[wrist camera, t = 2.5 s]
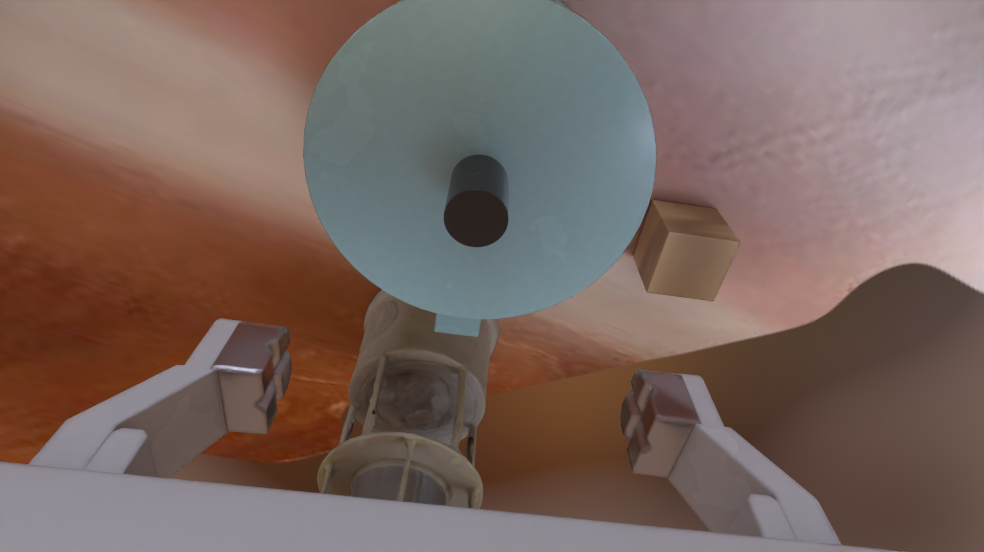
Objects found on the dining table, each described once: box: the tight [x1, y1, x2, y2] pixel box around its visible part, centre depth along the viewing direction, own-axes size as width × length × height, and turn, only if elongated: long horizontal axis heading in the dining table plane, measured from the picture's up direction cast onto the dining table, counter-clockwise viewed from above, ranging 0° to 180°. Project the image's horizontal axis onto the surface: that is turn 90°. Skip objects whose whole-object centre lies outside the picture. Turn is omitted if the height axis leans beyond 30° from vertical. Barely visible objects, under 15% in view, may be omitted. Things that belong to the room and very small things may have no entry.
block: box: [633, 200, 740, 301], centre depth 36 cm, size 4×4×4 cm
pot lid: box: [303, 0, 656, 319], centre depth 23 cm, size 15×15×5 cm
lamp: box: [317, 290, 499, 509], centre depth 31 cm, size 10×13×30 cm
